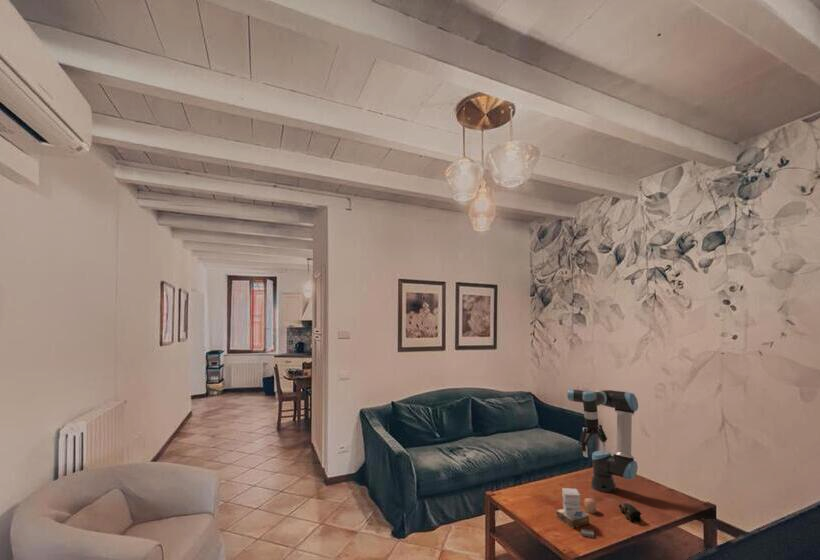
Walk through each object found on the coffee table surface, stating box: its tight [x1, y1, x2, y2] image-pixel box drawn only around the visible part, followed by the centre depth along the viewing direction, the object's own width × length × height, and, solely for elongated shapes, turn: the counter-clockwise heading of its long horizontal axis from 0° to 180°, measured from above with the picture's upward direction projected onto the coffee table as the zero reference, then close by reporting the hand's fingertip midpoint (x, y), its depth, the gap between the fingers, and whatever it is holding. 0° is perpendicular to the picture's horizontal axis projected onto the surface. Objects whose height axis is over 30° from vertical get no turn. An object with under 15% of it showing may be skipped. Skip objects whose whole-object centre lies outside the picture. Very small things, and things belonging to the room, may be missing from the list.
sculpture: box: [618, 502, 642, 523], centre depth 222 cm, size 13×6×7 cm, turn 7°
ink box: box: [561, 487, 582, 517], centre depth 220 cm, size 8×8×12 cm
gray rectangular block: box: [580, 528, 595, 539], centre depth 205 cm, size 6×4×2 cm, turn 68°
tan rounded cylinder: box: [584, 497, 597, 514], centre depth 230 cm, size 6×6×6 cm
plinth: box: [556, 508, 590, 529], centre depth 220 cm, size 12×12×4 cm
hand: (594, 454), depth 230 cm, fingers open, 13 cm apart
